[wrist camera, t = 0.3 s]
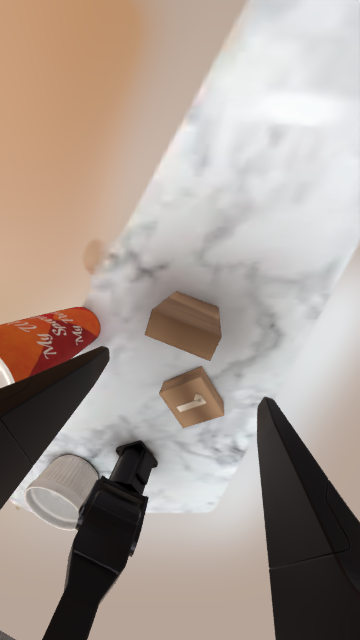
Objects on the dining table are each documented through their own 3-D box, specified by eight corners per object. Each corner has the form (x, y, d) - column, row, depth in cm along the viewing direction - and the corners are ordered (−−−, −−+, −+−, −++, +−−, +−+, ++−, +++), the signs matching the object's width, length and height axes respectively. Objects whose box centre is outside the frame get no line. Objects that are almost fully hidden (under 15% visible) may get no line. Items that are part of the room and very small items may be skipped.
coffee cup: (113, 314, 27) (0, 373, 12) (99, 356, 29) (-5, 442, 15) (64, 289, 27) (-101, 319, 13) (55, 333, 30) (-87, 397, 16)
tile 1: (185, 412, 30) (182, 429, 27) (164, 380, 29) (158, 394, 26) (223, 400, 28) (224, 416, 25) (201, 365, 27) (200, 377, 24)
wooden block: (210, 324, 24) (209, 362, 15) (170, 308, 25) (144, 336, 15) (218, 307, 23) (221, 336, 14) (176, 291, 24) (152, 309, 14)
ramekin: (78, 494, 44) (55, 535, 38) (42, 458, 42) (11, 494, 36) (115, 483, 40) (96, 526, 33) (76, 442, 38) (48, 480, 31)
